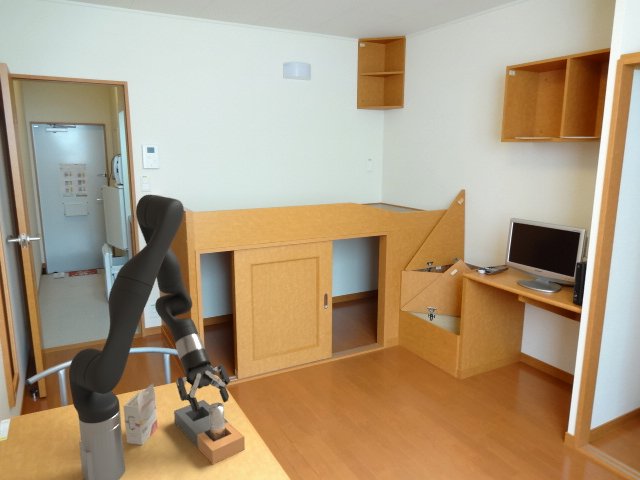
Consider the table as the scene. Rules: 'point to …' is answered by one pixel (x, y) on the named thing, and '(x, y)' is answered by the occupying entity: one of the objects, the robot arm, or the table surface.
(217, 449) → the socket block
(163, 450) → the table surface
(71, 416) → the table surface
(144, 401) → the ink cartridge box
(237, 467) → the table surface
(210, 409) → the silver metal cylinder
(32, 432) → the table surface
